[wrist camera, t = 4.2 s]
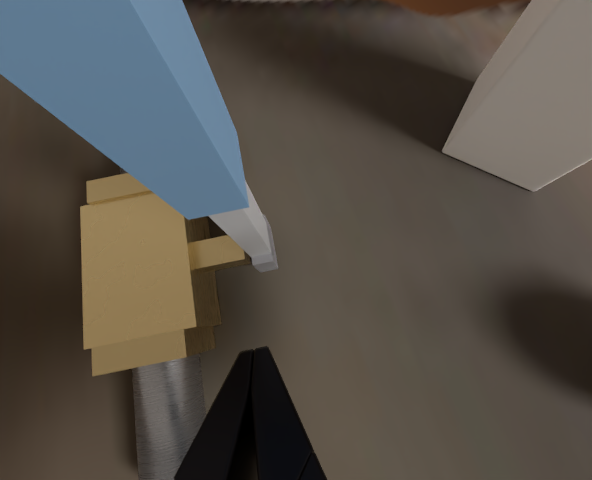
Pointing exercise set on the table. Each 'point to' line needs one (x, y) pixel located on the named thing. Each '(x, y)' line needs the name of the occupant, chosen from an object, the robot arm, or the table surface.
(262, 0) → the table surface
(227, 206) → the lever
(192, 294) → the valve
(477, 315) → the table surface
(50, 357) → the table surface
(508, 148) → the milk
